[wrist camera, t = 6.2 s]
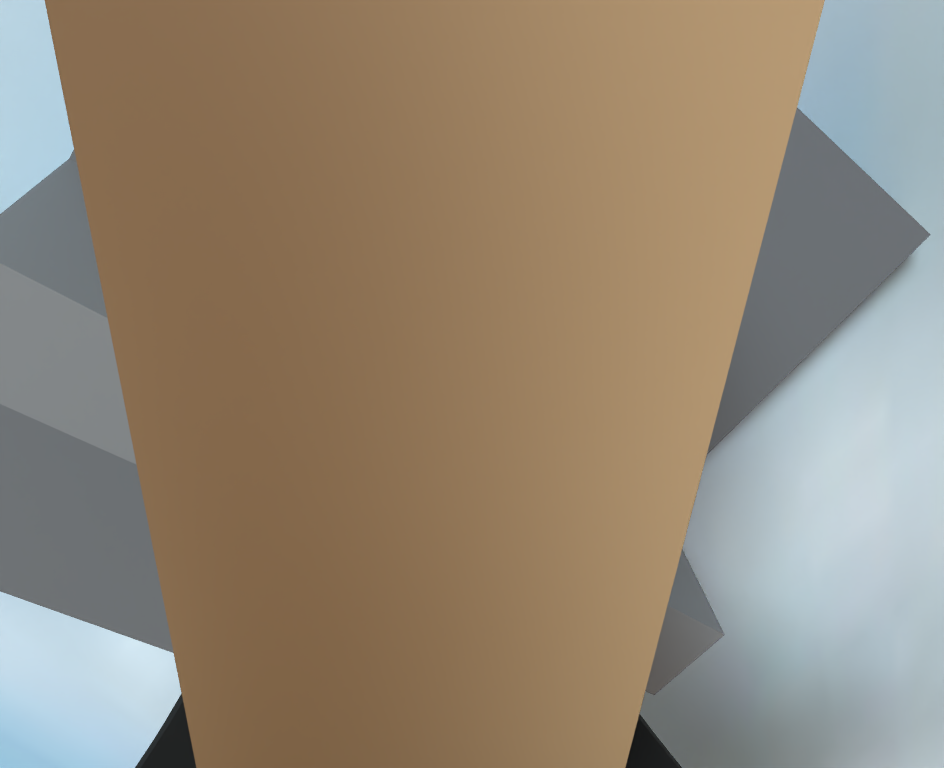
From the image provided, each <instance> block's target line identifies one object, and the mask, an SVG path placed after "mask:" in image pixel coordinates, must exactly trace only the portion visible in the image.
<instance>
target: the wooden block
mask: <svg viewBox="0 0 944 768" xmlns="http://www.w3.org/2000/svg"><path fill="white" fill-rule="evenodd" d="M824 1H825V0H45V4H46V9H47V14H48V19H49V24H50V29H51V34H52V39H53V44H54V49H55V54H56V59H57V64H58V70H59V75H60V80H61V85H62V90H63V95H64V100H65V105H66V110H67V115H68V120H69V125H70V130H71V135H72V140H73V145H74V151H75V156H76V161H77V166H78V171H79V176H80V181H81V186H82V191H83V196H84V201H85V206H86V211H87V216H88V221H89V226H90V232H91V237H92V242H93V247H94V252H95V257H96V262H97V267H98V272H99V277H100V282H101V287H102V292H103V297H104V302H105V307H106V313H107V318H108V323H109V328H110V333H111V338H112V343H113V348H114V353H115V358H116V363H117V368H118V373H119V378H120V383H121V389H122V394H123V399H124V404H125V409H126V414H127V419H128V424H129V429H130V434H131V439H132V444H133V449H134V454H135V459H136V464H137V470H138V475H139V480H140V485H141V490H142V495H143V500H144V505H145V510H146V515H147V520H148V525H149V530H150V535H151V540H152V545H153V551H154V556H155V561H156V566H157V571H158V576H159V581H160V586H161V591H162V596H163V601H164V606H165V611H166V616H167V621H168V626H169V632H170V637H171V642H172V647H173V652H174V657H175V662H176V667H177V672H178V677H179V682H180V687H181V692H182V697H183V702H184V707H185V713H186V718H187V723H188V728H189V733H190V738H191V743H192V748H193V753H194V758H195V763H196V768H625V767H626V763H627V759H628V755H629V751H630V748H631V744H632V740H633V736H634V732H635V728H636V725H637V721H638V717H639V713H640V709H641V705H642V701H643V698H644V694H645V690H646V686H647V682H648V678H649V674H650V671H651V667H652V663H653V659H654V655H655V651H656V648H657V644H658V640H659V636H660V632H661V628H662V624H663V621H664V617H665V613H666V609H667V605H668V601H669V598H670V594H671V590H672V586H673V582H674V578H675V574H676V571H677V567H678V563H679V559H680V555H681V551H682V547H683V544H684V540H685V536H686V532H687V528H688V524H689V521H690V517H691V513H692V509H693V505H694V501H695V497H696V494H697V490H698V486H699V482H700V478H701V474H702V471H703V467H704V463H705V459H706V455H707V451H708V447H709V444H710V440H711V436H712V432H713V428H714V424H715V420H716V417H717V413H718V409H719V405H720V401H721V397H722V394H723V390H724V386H725V382H726V378H727V374H728V370H729V367H730V363H731V359H732V355H733V351H734V347H735V344H736V340H737V336H738V332H739V328H740V324H741V320H742V317H743V313H744V309H745V305H746V301H747V297H748V293H749V290H750V286H751V282H752V278H753V274H754V270H755V267H756V263H757V259H758V255H759V251H760V247H761V243H762V240H763V236H764V232H765V228H766V224H767V220H768V216H769V213H770V209H771V205H772V201H773V197H774V193H775V190H776V186H777V182H778V178H779V174H780V170H781V166H782V163H783V159H784V155H785V151H786V147H787V143H788V140H789V136H790V132H791V128H792V124H793V120H794V116H795V113H796V109H797V105H798V101H799V97H800V93H801V89H802V86H803V82H804V78H805V74H806V70H807V66H808V63H809V59H810V55H811V51H812V47H813V43H814V39H815V36H816V32H817V28H818V24H819V20H820V16H821V13H822V9H823V5H824Z"/></svg>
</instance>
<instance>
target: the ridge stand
mask: <svg viewBox="0 0 944 768" xmlns="http://www.w3.org/2000/svg"><path fill="white" fill-rule="evenodd" d="M929 236H930V234H929V233H928V232H927V231H926V230H925V229H924V228H923V227H922V226H921V225H920V224H919V223H918V222H917V221H916V220H915V219H914V218H913V217H912V216H910V215H909V214H908V213H907V212H906V211H905V210H904V209H903V208H902V207H901V206H900V205H899V204H898V203H897V202H896V201H895V200H894V199H893V198H892V197H891V196H889V195H888V194H887V193H886V192H885V191H884V190H883V189H882V188H881V187H880V186H879V185H878V184H877V183H876V182H875V181H874V180H873V179H872V178H871V177H870V176H868V175H867V174H866V173H865V172H864V171H863V170H862V169H861V168H860V167H859V166H858V165H857V164H856V163H855V162H854V161H853V160H852V159H851V158H850V157H849V156H848V155H846V154H845V153H844V152H843V151H842V150H841V149H840V148H839V147H838V146H837V145H836V144H835V143H834V142H833V141H832V140H831V139H830V138H829V137H828V136H827V135H825V134H824V133H823V132H822V131H821V130H820V129H819V128H818V127H817V126H816V125H815V124H814V123H813V122H812V121H811V120H810V119H809V118H808V117H807V116H806V115H804V114H803V113H802V112H801V111H800V110H799V109H798V108H797V109H796V113H795V116H794V120H793V124H792V128H791V132H790V136H789V140H788V143H787V147H786V151H785V155H784V159H783V163H782V166H781V170H780V174H779V178H778V182H777V186H776V190H775V193H774V197H773V201H772V205H771V209H770V213H769V216H768V220H767V224H766V228H765V232H764V236H763V240H762V243H761V247H760V251H759V255H758V259H757V263H756V267H755V270H754V274H753V278H752V282H751V286H750V290H749V293H748V297H747V301H746V305H745V309H744V313H743V317H742V320H741V324H740V328H739V332H738V336H737V340H736V344H735V347H734V351H733V355H732V359H731V363H730V367H729V370H728V374H727V378H726V382H725V386H724V390H723V394H722V397H721V401H720V405H719V409H718V413H717V417H716V420H715V424H714V428H713V432H712V436H711V440H710V444H709V447H708V451H707V454H708V453H709V452H710V451H711V450H712V449H713V448H714V447H715V446H716V445H717V444H718V443H719V442H720V441H721V440H722V439H723V438H724V437H725V436H726V435H727V434H728V433H729V432H730V431H731V430H732V429H733V428H734V427H735V426H736V425H737V424H738V423H739V422H740V421H741V420H742V419H743V418H744V417H745V416H746V415H748V414H749V413H750V412H751V411H752V410H753V409H754V408H755V407H756V406H757V405H758V404H759V403H760V402H761V401H762V400H763V399H764V398H765V397H766V396H767V395H768V394H769V393H770V392H771V391H772V390H773V389H774V388H775V387H776V386H777V385H778V384H779V383H780V382H781V381H782V380H783V379H784V378H785V377H786V376H787V375H788V374H789V373H790V372H791V371H792V370H793V369H794V368H795V367H796V366H797V365H798V364H799V363H800V362H801V361H802V360H803V359H804V358H805V357H807V356H808V355H809V354H810V353H811V352H812V351H813V350H814V349H815V348H816V347H817V346H818V345H819V344H820V343H821V342H822V341H823V340H824V339H825V338H826V337H827V336H828V335H829V334H830V333H831V332H832V331H833V330H834V329H835V328H836V327H837V326H838V325H839V324H840V323H841V322H842V321H843V320H844V319H845V318H846V317H847V316H848V315H849V314H850V313H851V312H852V311H853V310H854V309H855V308H856V307H857V306H858V305H859V304H860V303H861V302H862V301H863V300H864V299H865V298H867V297H868V296H869V295H870V294H871V293H872V292H873V291H874V290H875V289H876V288H877V287H878V286H879V285H880V284H881V283H882V282H883V281H884V280H885V279H886V278H887V277H888V276H889V275H890V274H891V273H892V272H893V271H894V270H895V269H896V268H897V267H898V266H899V265H900V264H901V263H902V262H903V261H904V260H905V259H906V258H907V257H908V256H909V255H910V254H911V253H912V252H913V251H914V250H915V249H916V248H917V247H918V246H919V245H920V244H921V243H922V242H923V241H924V240H926V239H927V238H928V237H929ZM0 591H1V592H4V593H6V594H9V595H12V596H15V597H18V598H21V599H23V600H26V601H29V602H32V603H35V604H37V605H40V606H43V607H46V608H49V609H51V610H54V611H57V612H60V613H63V614H66V615H68V616H71V617H74V618H77V619H80V620H82V621H85V622H88V623H91V624H94V625H97V626H99V627H102V628H105V629H108V630H111V631H113V632H116V633H119V634H122V635H125V636H128V637H130V638H133V639H136V640H139V641H142V642H144V643H147V644H150V645H153V646H156V647H159V648H161V649H164V650H167V651H170V652H173V647H172V642H171V637H170V632H169V626H168V621H167V616H166V611H165V606H164V601H163V596H162V591H161V586H160V581H159V576H158V571H157V566H156V561H155V556H154V551H153V545H152V540H151V535H150V530H149V525H148V520H147V515H146V510H145V505H144V500H143V495H142V490H141V485H140V480H139V475H138V470H137V464H136V459H135V454H134V449H133V444H132V439H131V434H130V429H129V424H128V419H127V414H126V409H125V404H124V399H123V394H122V389H121V383H120V378H119V373H118V368H117V363H116V358H115V353H114V348H113V343H112V338H111V333H110V328H109V323H108V318H107V313H106V307H105V302H104V297H103V292H102V287H101V282H100V277H99V272H98V267H97V262H96V257H95V252H94V247H93V242H92V237H91V232H90V226H89V221H88V216H87V211H86V206H85V201H84V196H83V191H82V186H81V181H80V176H79V171H78V166H77V161H76V156H75V151H74V150H73V152H72V154H71V156H70V158H69V159H68V160H67V161H66V162H65V163H63V164H62V165H61V166H60V167H58V168H57V169H56V170H55V171H53V172H52V173H51V174H50V175H48V176H47V177H46V178H45V179H43V180H42V181H41V182H40V183H38V184H37V185H36V186H35V187H33V188H32V189H31V190H30V191H29V192H27V193H26V194H25V195H24V196H22V197H21V198H20V199H19V200H17V201H16V202H15V203H14V204H12V205H11V206H10V207H9V208H7V209H6V210H5V211H4V212H2V213H1V214H0ZM724 635H725V634H724V632H723V630H722V628H721V626H720V624H719V622H718V620H717V618H716V616H715V614H714V612H713V610H712V608H711V606H710V604H709V602H708V600H707V598H706V596H705V594H704V592H703V590H702V588H701V586H700V584H699V582H698V580H697V578H696V576H695V574H694V572H693V570H692V568H691V566H690V564H689V562H688V560H687V558H686V556H685V554H684V552H683V550H682V551H681V555H680V559H679V563H678V567H677V571H676V574H675V578H674V582H673V586H672V590H671V594H670V598H669V601H668V605H667V609H666V613H665V617H664V621H663V624H662V628H661V632H660V636H659V640H658V644H657V648H656V651H655V655H654V659H653V663H652V667H651V671H650V674H649V678H648V682H647V686H646V690H645V691H646V692H649V693H651V694H653V695H655V694H656V693H657V692H658V691H659V690H661V689H662V688H663V687H664V686H665V685H666V684H668V683H669V682H670V681H671V680H672V679H673V678H675V677H676V676H677V675H678V674H679V673H680V672H682V671H683V670H684V669H685V668H686V667H687V666H689V665H690V664H691V663H692V662H693V661H694V660H696V659H697V658H698V657H699V656H700V655H701V654H703V653H704V652H705V651H706V650H707V649H708V648H710V647H711V646H712V645H713V644H714V643H715V642H717V641H718V640H719V639H720V638H721V637H722V636H724ZM173 653H174V652H173Z"/></svg>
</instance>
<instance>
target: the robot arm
mask: <svg viewBox="0 0 944 768" xmlns="http://www.w3.org/2000/svg"><path fill="white" fill-rule="evenodd" d="M135 768H196V763H195V758H194V753H193V748H192V743H191V738H190V733H189V728H188V723H187V718H186V713H185V707H184V702H183V697H182V694H181V696H180V697H179V699H178V701H177V702H176V704H175V706H174V707H173V709H172V711H171V712H170V714H169V716H168V717H167V719H166V721H165V723H164V724H163V726H162V727H161V729H160V731H159V732H158V734H157V735H156V737H155V739H154V740H153V742H152V743H151V745H150V746H149V748H148V749H147V751H146V752H145V754H144V755H143V757H142V758H141V760H140V761H139V763H138V764H137V766H136V767H135ZM625 768H682V767H681V766H680V765H679V764H678V762H677V761H676V760H675V759H674V757H673V756H672V755H671V754H670V752H669V751H668V750H667V749H666V747H665V746H664V745H663V744H662V742H661V741H660V740H659V739H658V737H657V736H656V735H655V734H654V732H653V731H652V730H651V728H650V727H649V726H648V724H647V723H646V722H645V721H644V719H643V718H642V717H641V715H640V714H639V717H638V721H637V725H636V728H635V732H634V736H633V740H632V744H631V748H630V751H629V755H628V759H627V763H626V767H625Z"/></svg>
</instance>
